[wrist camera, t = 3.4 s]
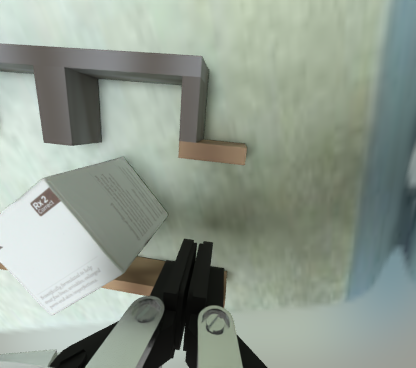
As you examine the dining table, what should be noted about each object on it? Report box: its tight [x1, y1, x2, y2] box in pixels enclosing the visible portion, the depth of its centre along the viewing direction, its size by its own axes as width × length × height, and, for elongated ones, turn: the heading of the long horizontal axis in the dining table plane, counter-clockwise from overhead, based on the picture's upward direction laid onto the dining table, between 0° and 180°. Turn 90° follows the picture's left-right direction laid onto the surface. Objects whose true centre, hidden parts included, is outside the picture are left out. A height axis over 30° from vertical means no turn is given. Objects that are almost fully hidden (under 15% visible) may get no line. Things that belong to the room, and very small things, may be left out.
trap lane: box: [0, 44, 247, 308], centre depth 16 cm, size 27×16×3 cm, turn 85°
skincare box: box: [0, 157, 168, 315], centre depth 14 cm, size 6×6×7 cm
